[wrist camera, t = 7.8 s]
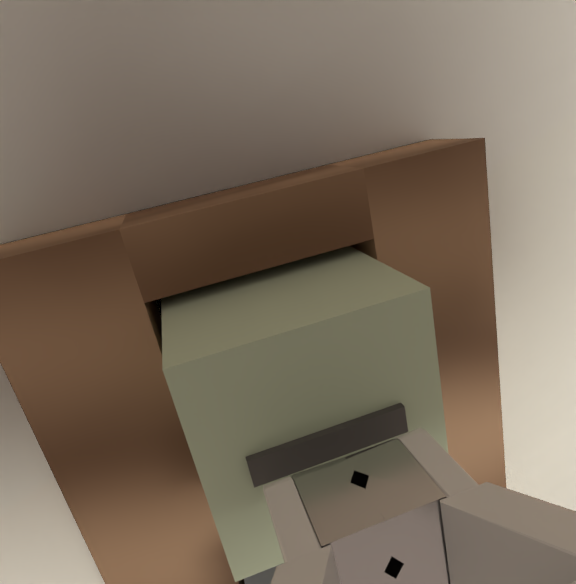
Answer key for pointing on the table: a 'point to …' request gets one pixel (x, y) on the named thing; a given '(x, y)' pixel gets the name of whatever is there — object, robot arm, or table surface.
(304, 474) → the robot arm
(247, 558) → the tile one
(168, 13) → the table surface
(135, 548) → the panel
